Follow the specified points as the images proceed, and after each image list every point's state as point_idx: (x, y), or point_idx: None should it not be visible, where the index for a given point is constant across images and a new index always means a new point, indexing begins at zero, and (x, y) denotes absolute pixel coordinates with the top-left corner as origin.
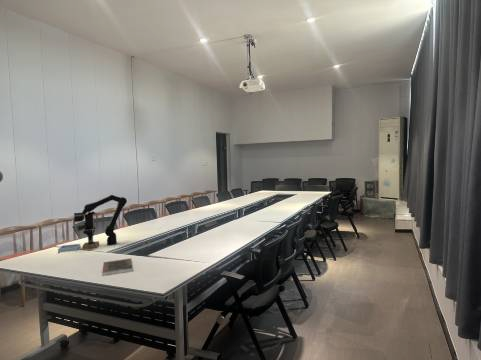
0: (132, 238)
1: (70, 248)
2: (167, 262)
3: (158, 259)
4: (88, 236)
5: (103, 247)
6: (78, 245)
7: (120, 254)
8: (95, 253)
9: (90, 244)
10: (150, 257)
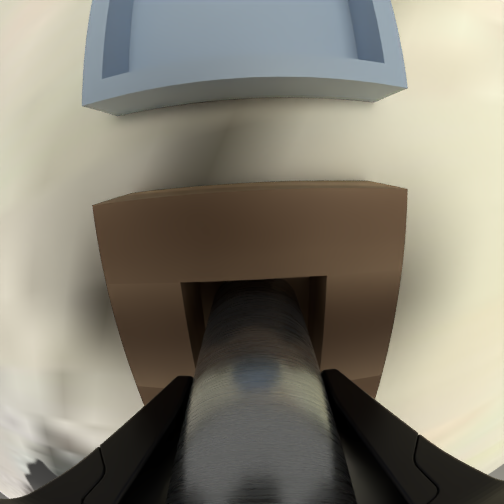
0: None
1: (96, 6)
2: (3, 483)
3: (14, 486)
4: (86, 474)
5: None
6: (226, 73)
7: (24, 455)
8: (8, 360)
9: (152, 347)
10: (22, 486)
